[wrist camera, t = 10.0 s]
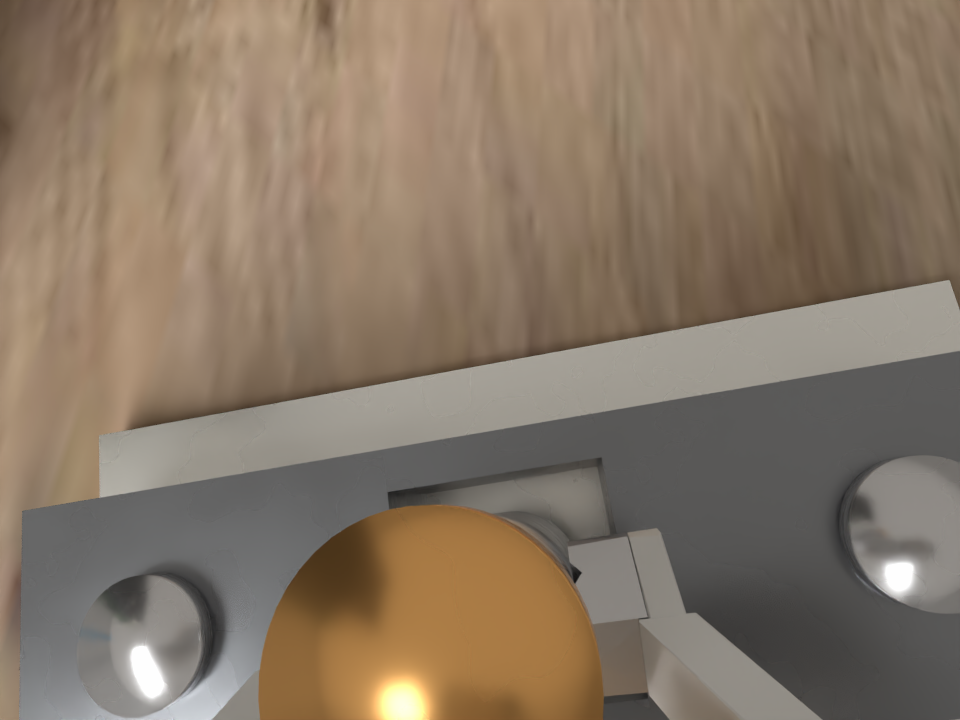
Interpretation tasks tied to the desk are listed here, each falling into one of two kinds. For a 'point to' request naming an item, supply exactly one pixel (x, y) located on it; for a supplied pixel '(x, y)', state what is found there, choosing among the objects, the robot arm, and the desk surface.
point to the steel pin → (434, 624)
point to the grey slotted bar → (549, 507)
